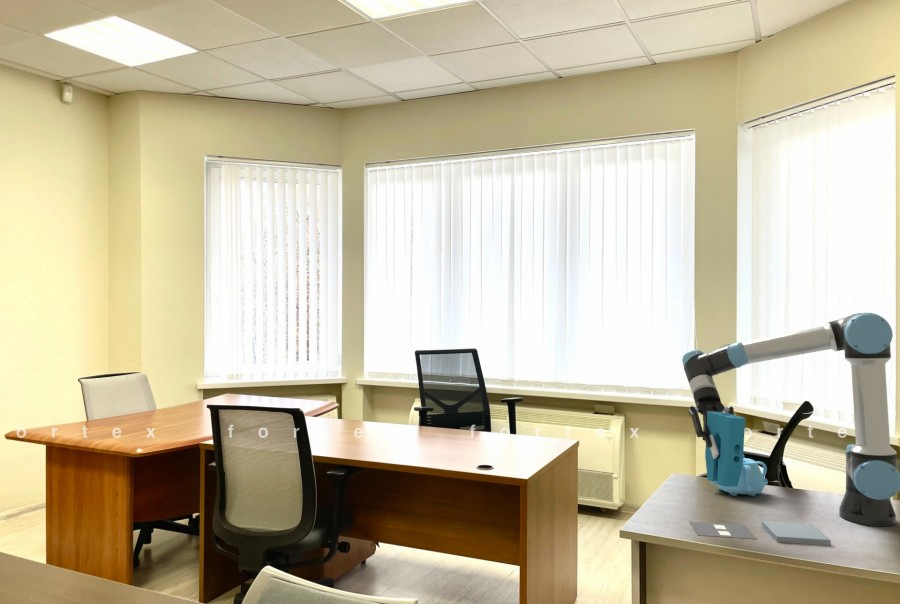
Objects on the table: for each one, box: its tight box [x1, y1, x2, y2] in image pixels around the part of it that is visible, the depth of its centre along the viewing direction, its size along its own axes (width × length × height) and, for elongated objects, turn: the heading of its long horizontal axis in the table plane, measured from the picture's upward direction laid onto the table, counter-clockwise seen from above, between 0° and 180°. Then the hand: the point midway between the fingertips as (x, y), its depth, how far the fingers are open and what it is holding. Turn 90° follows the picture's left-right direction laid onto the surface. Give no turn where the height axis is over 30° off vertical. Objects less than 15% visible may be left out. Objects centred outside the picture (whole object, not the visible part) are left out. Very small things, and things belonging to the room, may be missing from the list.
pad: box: [761, 520, 832, 546], centre depth 192 cm, size 14×14×2 cm
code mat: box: [689, 521, 757, 540], centre depth 195 cm, size 16×12×1 cm
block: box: [704, 411, 746, 487], centre depth 195 cm, size 12×5×20 cm, turn 13°
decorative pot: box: [710, 454, 769, 497], centre depth 237 cm, size 16×16×14 cm
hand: (726, 456), depth 194 cm, fingers closed on block, 5 cm apart
